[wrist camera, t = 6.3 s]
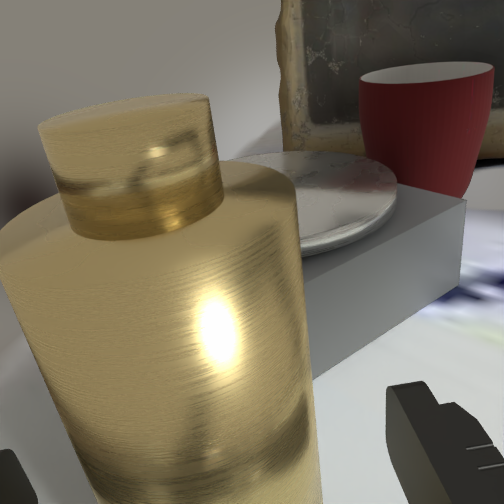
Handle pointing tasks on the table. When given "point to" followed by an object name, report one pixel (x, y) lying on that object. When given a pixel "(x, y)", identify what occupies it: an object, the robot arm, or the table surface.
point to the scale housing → (382, 275)
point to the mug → (427, 121)
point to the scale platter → (334, 195)
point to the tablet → (375, 61)
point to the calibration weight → (168, 309)
